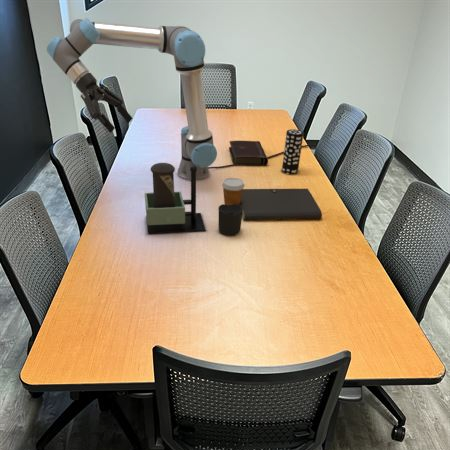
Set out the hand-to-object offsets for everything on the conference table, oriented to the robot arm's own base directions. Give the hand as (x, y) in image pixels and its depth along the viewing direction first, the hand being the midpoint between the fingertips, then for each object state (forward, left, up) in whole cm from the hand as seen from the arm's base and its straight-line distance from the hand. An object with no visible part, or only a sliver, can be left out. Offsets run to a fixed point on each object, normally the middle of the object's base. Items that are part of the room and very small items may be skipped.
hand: (121, 125), depth 177 cm
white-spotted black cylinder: (-82, -31, -34) cm, 94 cm away
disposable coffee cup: (-44, +7, -34) cm, 56 cm away
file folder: (-64, +9, -34) cm, 73 cm away
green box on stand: (-18, +19, -34) cm, 43 cm away
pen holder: (-39, +27, -34) cm, 58 cm away
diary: (-64, -52, -34) cm, 89 cm away
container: (-14, +19, -29) cm, 37 cm away
